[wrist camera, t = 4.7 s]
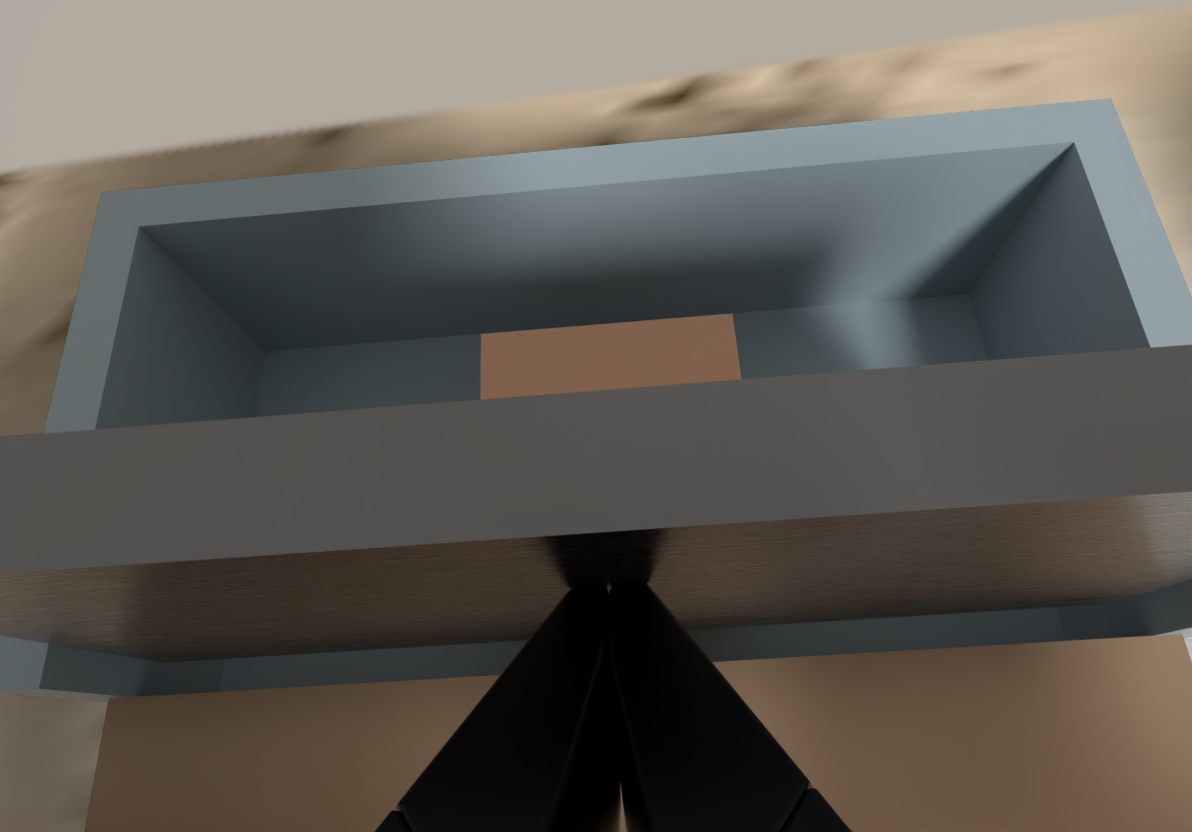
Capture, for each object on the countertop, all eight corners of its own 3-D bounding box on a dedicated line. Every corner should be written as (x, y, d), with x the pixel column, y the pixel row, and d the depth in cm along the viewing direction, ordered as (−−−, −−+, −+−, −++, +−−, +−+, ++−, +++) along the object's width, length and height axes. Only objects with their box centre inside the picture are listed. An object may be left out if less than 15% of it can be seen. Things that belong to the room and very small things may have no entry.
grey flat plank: (1111, 603, 11) (1552, 466, 6) (165, 662, 12) (-265, 591, 6) (1086, 522, 12) (1471, 323, 6) (177, 583, 12) (-213, 453, 7)
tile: (749, 595, 14) (767, 566, 12) (507, 610, 15) (478, 585, 12) (721, 374, 16) (732, 313, 14) (506, 392, 16) (480, 334, 14)
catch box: (1102, 655, 14) (1318, 610, 9) (190, 708, 15) (-20, 691, 10) (989, 271, 17) (1110, 98, 13) (244, 333, 18) (101, 191, 13)
